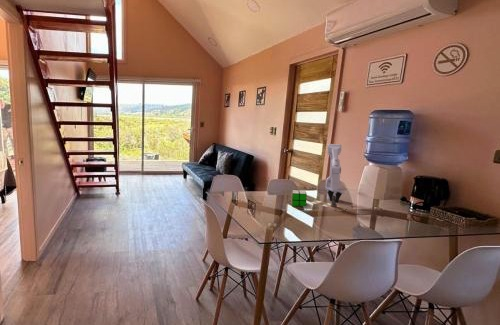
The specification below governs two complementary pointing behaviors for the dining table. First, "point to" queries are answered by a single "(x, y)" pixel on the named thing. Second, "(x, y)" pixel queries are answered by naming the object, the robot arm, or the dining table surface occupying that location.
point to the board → (329, 205)
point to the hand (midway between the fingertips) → (334, 201)
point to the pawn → (333, 202)
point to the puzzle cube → (298, 198)
